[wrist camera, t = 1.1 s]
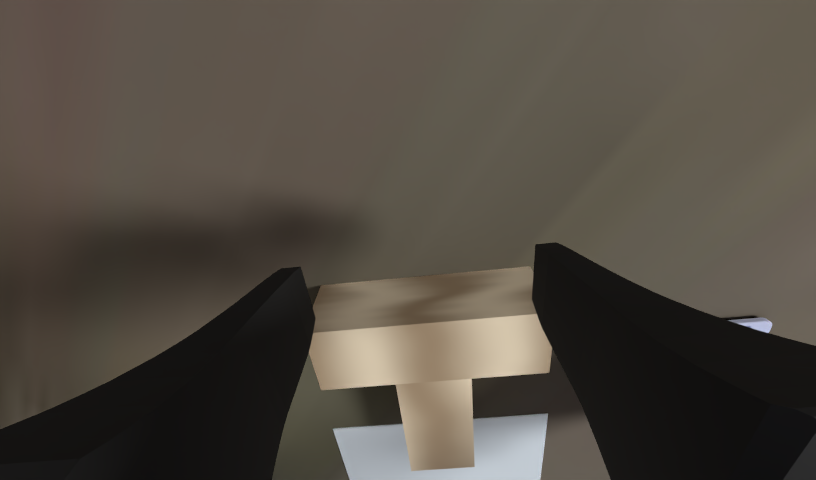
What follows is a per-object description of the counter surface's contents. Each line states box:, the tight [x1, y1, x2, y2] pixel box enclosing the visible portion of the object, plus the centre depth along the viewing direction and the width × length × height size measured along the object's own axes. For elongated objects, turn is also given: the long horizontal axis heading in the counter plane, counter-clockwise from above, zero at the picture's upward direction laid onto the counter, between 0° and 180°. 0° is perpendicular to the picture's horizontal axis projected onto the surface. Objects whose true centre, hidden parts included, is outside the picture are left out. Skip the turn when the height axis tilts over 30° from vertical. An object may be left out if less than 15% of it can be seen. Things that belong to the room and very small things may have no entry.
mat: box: [333, 413, 548, 480], centre depth 30 cm, size 16×16×1 cm
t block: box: [309, 266, 552, 471], centre depth 21 cm, size 12×12×4 cm
